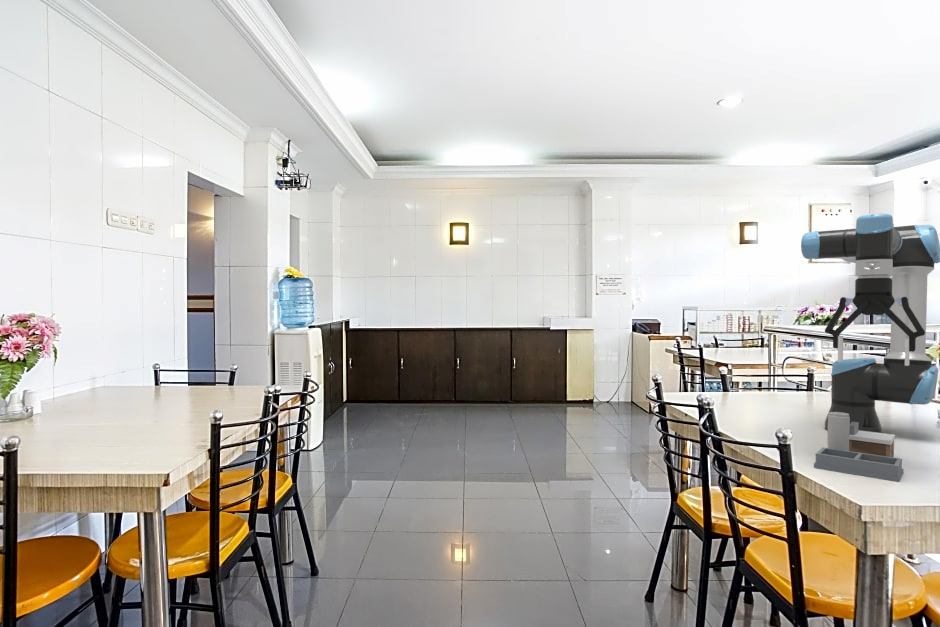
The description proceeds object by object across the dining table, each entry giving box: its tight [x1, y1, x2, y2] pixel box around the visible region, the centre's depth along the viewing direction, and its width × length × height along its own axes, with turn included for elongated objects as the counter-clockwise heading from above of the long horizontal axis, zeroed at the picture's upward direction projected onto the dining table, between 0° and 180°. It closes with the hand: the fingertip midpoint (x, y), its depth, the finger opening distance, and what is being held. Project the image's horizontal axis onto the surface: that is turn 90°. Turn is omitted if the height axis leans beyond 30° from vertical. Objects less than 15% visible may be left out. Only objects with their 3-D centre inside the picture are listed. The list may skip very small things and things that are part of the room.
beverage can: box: [827, 411, 850, 451], centre depth 150 cm, size 5×5×12 cm
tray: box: [849, 439, 895, 458], centre depth 153 cm, size 9×9×4 cm
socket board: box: [813, 447, 905, 483], centre depth 140 cm, size 9×17×4 cm, turn 48°
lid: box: [849, 422, 896, 445], centre depth 153 cm, size 9×9×3 cm
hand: (872, 363), depth 143 cm, fingers open, 13 cm apart
